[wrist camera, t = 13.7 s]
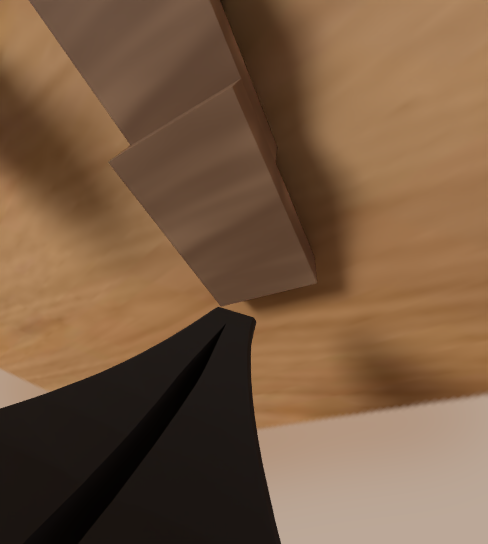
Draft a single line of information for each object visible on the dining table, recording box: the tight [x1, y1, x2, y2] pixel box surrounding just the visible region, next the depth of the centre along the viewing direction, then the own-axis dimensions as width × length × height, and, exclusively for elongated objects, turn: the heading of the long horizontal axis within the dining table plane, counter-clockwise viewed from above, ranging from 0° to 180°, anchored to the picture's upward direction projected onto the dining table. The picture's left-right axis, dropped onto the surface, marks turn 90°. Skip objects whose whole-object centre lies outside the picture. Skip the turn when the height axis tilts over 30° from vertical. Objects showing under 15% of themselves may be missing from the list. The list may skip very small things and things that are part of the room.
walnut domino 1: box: [29, 0, 277, 162], centre depth 10 cm, size 2×5×8 cm
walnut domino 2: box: [108, 79, 317, 306], centre depth 11 cm, size 2×5×8 cm
